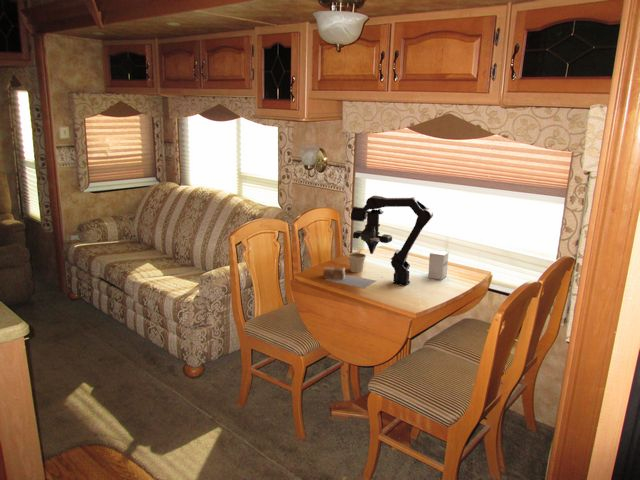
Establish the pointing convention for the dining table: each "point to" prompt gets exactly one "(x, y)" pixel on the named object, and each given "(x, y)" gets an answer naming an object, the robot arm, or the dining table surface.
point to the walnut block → (334, 273)
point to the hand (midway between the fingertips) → (371, 253)
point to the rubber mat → (353, 281)
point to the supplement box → (438, 265)
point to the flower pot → (356, 262)
